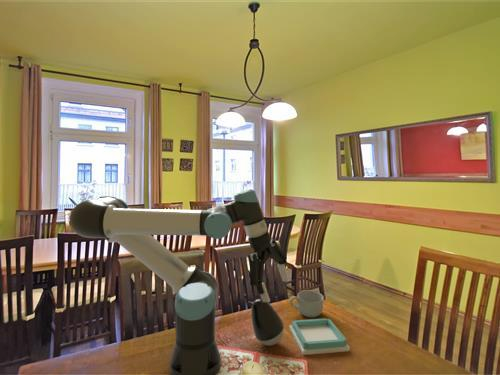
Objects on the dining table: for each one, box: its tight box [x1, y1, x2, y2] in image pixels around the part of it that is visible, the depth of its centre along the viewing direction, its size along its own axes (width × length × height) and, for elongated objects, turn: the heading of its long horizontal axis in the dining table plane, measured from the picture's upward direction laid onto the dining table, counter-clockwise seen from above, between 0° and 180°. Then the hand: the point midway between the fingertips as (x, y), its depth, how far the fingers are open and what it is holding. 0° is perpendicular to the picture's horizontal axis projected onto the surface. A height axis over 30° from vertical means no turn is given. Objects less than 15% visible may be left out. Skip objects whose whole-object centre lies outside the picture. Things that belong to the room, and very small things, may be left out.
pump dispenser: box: [247, 298, 285, 347], centre depth 98 cm, size 10×10×15 cm
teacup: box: [289, 289, 325, 319], centre depth 120 cm, size 14×11×8 cm
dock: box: [288, 318, 351, 356], centre depth 102 cm, size 16×16×3 cm
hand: (276, 290), depth 101 cm, fingers open, 13 cm apart
